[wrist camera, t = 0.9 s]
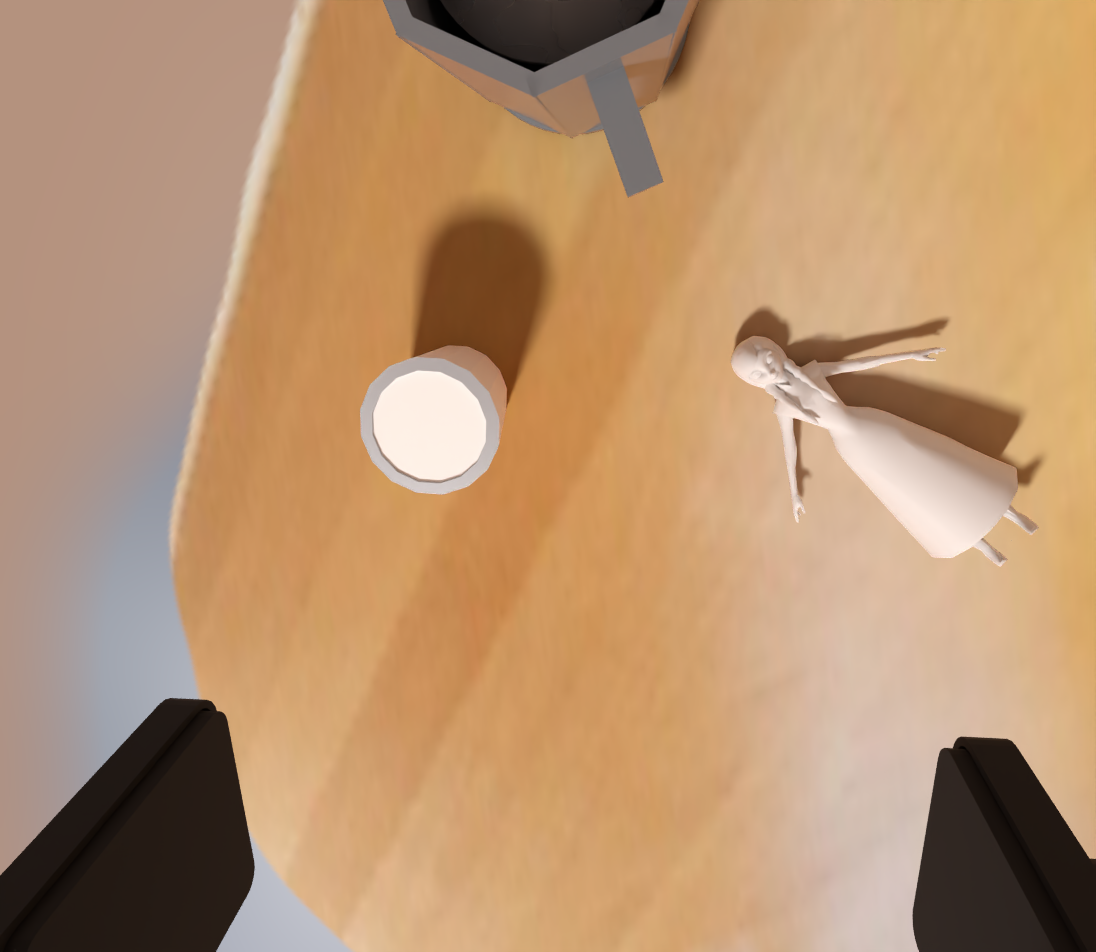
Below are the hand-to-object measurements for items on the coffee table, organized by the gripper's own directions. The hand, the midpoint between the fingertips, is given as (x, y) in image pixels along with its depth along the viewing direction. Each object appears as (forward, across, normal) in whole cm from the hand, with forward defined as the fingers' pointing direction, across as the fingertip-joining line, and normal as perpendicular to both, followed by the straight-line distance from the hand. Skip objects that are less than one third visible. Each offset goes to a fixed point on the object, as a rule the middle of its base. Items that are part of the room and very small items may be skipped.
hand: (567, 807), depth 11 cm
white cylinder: (+35, +9, +3) cm, 36 cm away
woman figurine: (+36, -13, +6) cm, 39 cm away
